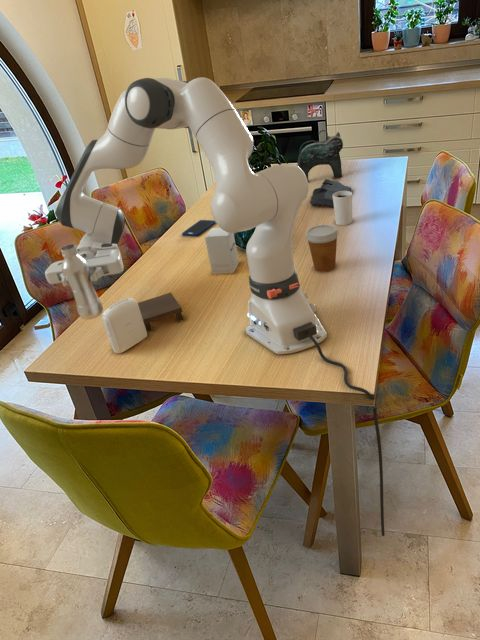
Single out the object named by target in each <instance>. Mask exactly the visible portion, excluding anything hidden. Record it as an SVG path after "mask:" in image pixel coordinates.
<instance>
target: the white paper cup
mask: <svg viewBox="0 0 480 640" xmlns="http://www.w3.org/2000/svg"><path fill="white" fill-rule="evenodd" d="M333 204H334V207H333V210H334V219H335V224H336V225H337V226H347V225H350V224H351V223H352V222H353V193H352V191H351V192H350V191H339V192H336V193H334V194H333Z"/></svg>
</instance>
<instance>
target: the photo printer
mask: <svg viewBox="0 0 480 640" xmlns="http://www.w3.org/2000/svg"><path fill="white" fill-rule="evenodd" d="M137 303H138V302H137V301H136V299H135V298H132V297H127V298H123V299H120V300H118V301H116V302H114V303H112V304H111V305H110V306H108V308H106V309H105V310H103V312H102V314H101V315H100V316H101V321H102V324H103V327H104V329H105V332H106V334H107V337H108V340H109V344H110V346H111V349H112V350H113V352H114V353H115V354H123V353H124V352H126V351H127V350H130V348H132V347H134V346H135V345H136V344H139V343H140V342H141V341H143V340H145V339H146V338H147V337H148V332H147V331H146V328H145V325H144V322H143V319H142V316H141V312H140V309H139V306H138V304H137Z"/></svg>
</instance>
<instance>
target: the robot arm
mask: <svg viewBox="0 0 480 640" xmlns="http://www.w3.org/2000/svg"><path fill="white" fill-rule="evenodd" d="M156 129H161V130H178V129H190V131H191V132H192V134H193V136H194V138H195V139H196V141H197V142H198V144H199V146H200V147H201V149H202V151H203V152H204V154H205V156H206V158H207V160H208V161H209V163H210V165H211V168H212V170H213V174H214V178H215V189H214V193H213V195H212V199H211V203H210V210H211V215H212V218H213V220H215V222H216V223H215V224H216V225H217V226H218V228H221V229H223V230H224V231H226V232H228V233H234V234H236V233H241V232H242V233H243V232H246V231H251V230H252V229H254V228H255V229H254V232H253V233H252V235H251V237H250V238H249V240H248V242H247V244H246V248H245V253H246V254H245V255H246V260H247V264H248V271H249V276H248V284H249V289H250V292H251V294H250V297H249V299H248V301H247V317H248V319H249V320H248V321H249V324H248V325H247V327H246V328H245V334H246V335H247V336H249V337H251V338H252V339H253V340H255V341H256V342H257V343H259V344H260V345H262V346H264V347H265V348H267V349H268V350H269V351H271V352H273V353H274V354H276V355H289V354H295V353H299V352H302V351H304V350H307V349H310V348H312V347H314V346H315V347H316V349H317V351H318V354H319V356H320V357H321V359H323V361H325V362H326V363H329V364H331V365H335V366H339V367H340V368H341V369H343V372H344V373H343V382H344V384H345V385H346V387H348V388H349V389H351V390H355V391H358V392H362V393H363V394H364V395H366V396H367V398H369V401H373V400H374V397H373V395H372V394H371V393H370V392H369V391H368V390H367V389H366V388H363V387H359V386H355V385H353V384H351V383H350V381H348V377H349V375H348V374H349V373H348V369H347V367H346V366H345V364H343V363H341V362H339V361H335V360H331V359H328V358H327V357H326V356H325V354H324V353H323V351H322V348H321V346H320V343H321V342H323V341H325V339H327V337H328V334H327V331H326V330H325V328H324V327H323V325H322V323H321V322H320V320H319V318H318V317H317V315H316V312H317V310H318V309H317V305H316V303H315V302H311V303H310V302H309V301H308V299H309V295H308V292H307V293H306V292H305V293H304V291H303V289H302V286H301V284H300V280H299V274H298V273H297V269H296V268H295V264H294V263H295V262H294V255H293V253H294V252H293V235H294V230H295V226H296V225H295V224H296V220H297V217H298V214H299V211H300V209H301V207H302V205H303V203H304V202H305V200H306V199H307V197H308V194H309V182H308V181H307V178H306V175H305V174H304V172H303V171H302V170H301V169H300V168H299V167H298V165H297V164H294V163H282V164H281V163H280V164H275V165H272V166H269V167H267V168H265V169H263V170H262V169H261V170H260V171H257V172H254V171H252V168H251V167H250V164H249V158H250V157H251V155H252V153H253V150H254V137H253V136H252V134H251V132H250V131H249V129H248V127H247V126H246V125H245V123H244V121H243V119H242V118H241V116H240V115H239V113H238V111H237V109H236V108H235V107H234V105H233V104H232V102H231V101H230V100H229V97H227V96H226V94H225V93H224V92H223V90H222V89H221V88H220V87H219V86H218V85H217V84H216V83H215V82H214V81H213V80H212V79H210V78H207V77H204V76H203V77H201V76H200V77H196V78H194V79H191V80H190V81H187V80H177V79H171V78H168V77H167V78H166V77H153V78H151V77H144V78H139V79H137V80H135V81H133V82H132V83H130V84H129V86H128V87H127V89H125V90H123V91H122V92H121V93H120V95H119V97H118V99H117V101H116V103H115V104H114V107H113V109H112V112H111V115H110V118H109V121H108V124H107V127H106V131H105V132H104V134H103V135H102V136H101V137H100V138H98V139H92V140H91V141H90V142H89V143H88V144H87V146H86V148H85V149H84V151H83V153H82V155H81V157H80V158H79V161H78V163H77V164H76V166H75V169H74V170H73V172H72V175H71V176H70V179H69V181H68V183H67V185H66V188H65V190H64V191H63V192H62V193H61V195H60V196H59V198H58V199H57V202H56V204H55V209H54V215H55V217H56V219H57V221H58V222H59V223H60V224H61V226H63V227H67V228H70V229H74V230H75V229H76V230H78V231H80V232H84V234H83V236H82V237H81V239H80V241H79V243H78V244H77V246H76V249H77V250H78V253H77V254H78V255H80V256H81V257H83V258H84V259H85V260H86V262H87V263H88V267H89V272H90V275H89V278H90V279H91V280H90V281H91V282H92V283H94V282H97V281H98V280H99V279H100V278H102V277H105V276H110V275H111V276H112V275H117V274H121V273H122V272H123V271H124V269H125V266H124V261H123V258H122V254H121V251H120V248H119V246H118V244H119V242H120V240H121V237H122V235H123V232H124V229H125V225H126V219H125V216H124V213H123V211H122V210H121V208H120V207H117V206H115V205H112V204H110V203H107V202H105V201H101V200H99V199H96V198H93V197H91V196H89V195H87V194H85V193H84V192H83V190H84V189H85V186H86V184H87V182H88V180H89V178H90V176H91V174H93V172H94V171H98V170H103V169H104V170H105V169H108V170H109V169H111V170H127V169H132V168H135V167H137V166H139V165H140V164H141V163H142V162H143V161H144V160H145V157H146V155H147V153H148V152H149V149H150V145H151V143H152V140H153V136H154V133H155V130H156ZM63 260H64V259H62V260H57V261H54V262H53V263H51V264H50V265H49V266H48V267H47V268H46V269H45V271H44V277H45V279H46V281H47V283H48V284H50V285H56V284H62V286H63V287H67V286H70V285H69V283H68V281H67V279H66V277H65V276H64V274H63V272H62V263H63ZM372 413H373V422H374V426H375V427H374V428H375V435H376V443H377V453H378V454H377V455H378V467H379V470H378V471H379V496H380V499H379V500H380V501H379V503H380V507H379V508H380V528H381V529H380V531H381V537H385V512H384V509H385V508H384V470H383V468H384V467H383V454H382V452H383V451H382V442H381V434H380V426H379V419H378V412H377V407H375V408H372Z"/></svg>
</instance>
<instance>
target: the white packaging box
mask: <svg viewBox="0 0 480 640" xmlns="http://www.w3.org/2000/svg"><path fill="white" fill-rule="evenodd" d="M204 240H205V244H206V250H207V254H208V259H209V265H210V270H211V274H212V275H226V274H228V275H229V274H234V273H235V271H236V269H237V268H238V265H239V264H240V262H239V256H238V252H237V251H238V250H237V245H236V239H235V233H228V232H226V231H224V230H223V229H221V228H220V227H214V228H213V227H212V228H209V231H208V232H207V234H206V236H205V237H204Z"/></svg>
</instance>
